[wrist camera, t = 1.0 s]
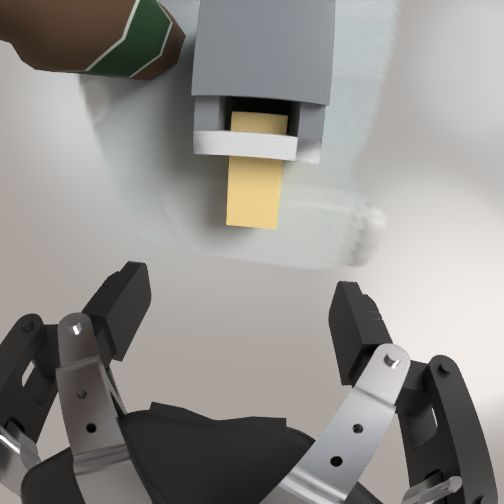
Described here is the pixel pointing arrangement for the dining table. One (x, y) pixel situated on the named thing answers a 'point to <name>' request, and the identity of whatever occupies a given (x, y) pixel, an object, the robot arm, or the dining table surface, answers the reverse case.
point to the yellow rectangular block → (255, 176)
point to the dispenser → (262, 73)
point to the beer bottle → (93, 36)
